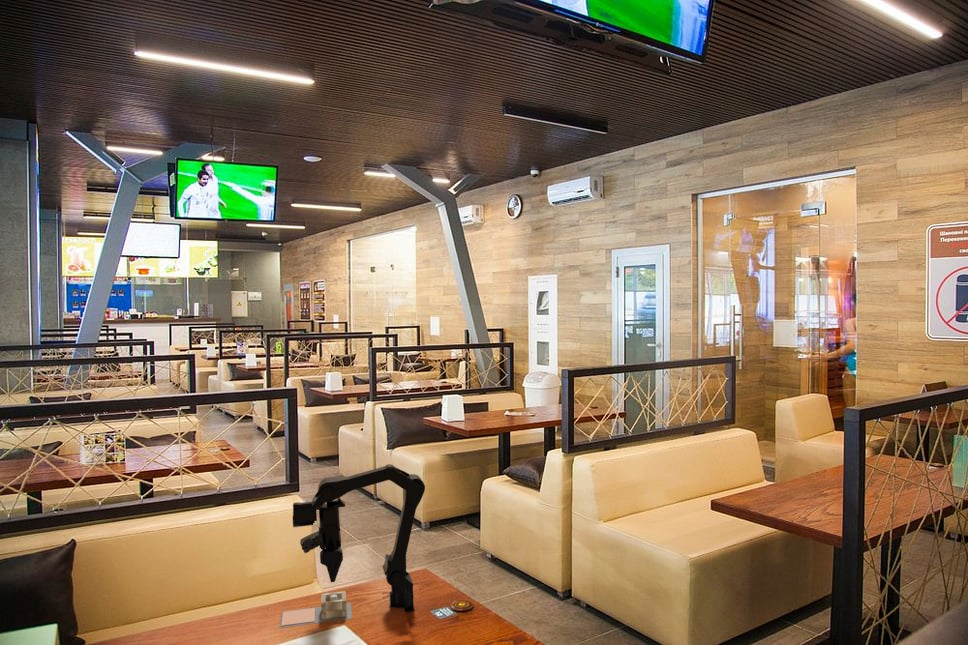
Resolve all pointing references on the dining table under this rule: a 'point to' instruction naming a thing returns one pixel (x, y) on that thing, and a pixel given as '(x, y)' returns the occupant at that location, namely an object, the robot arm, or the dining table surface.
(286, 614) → the stand board
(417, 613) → the dining table surface
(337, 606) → the beige square hollow block
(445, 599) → the dining table surface
